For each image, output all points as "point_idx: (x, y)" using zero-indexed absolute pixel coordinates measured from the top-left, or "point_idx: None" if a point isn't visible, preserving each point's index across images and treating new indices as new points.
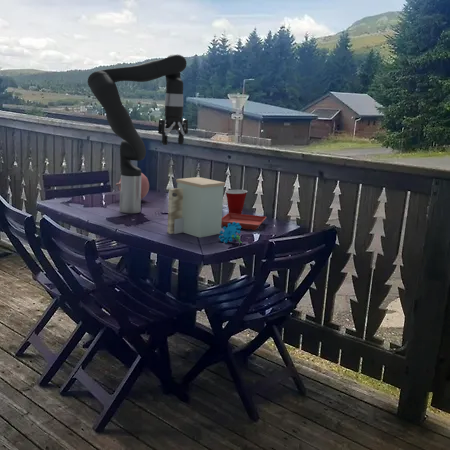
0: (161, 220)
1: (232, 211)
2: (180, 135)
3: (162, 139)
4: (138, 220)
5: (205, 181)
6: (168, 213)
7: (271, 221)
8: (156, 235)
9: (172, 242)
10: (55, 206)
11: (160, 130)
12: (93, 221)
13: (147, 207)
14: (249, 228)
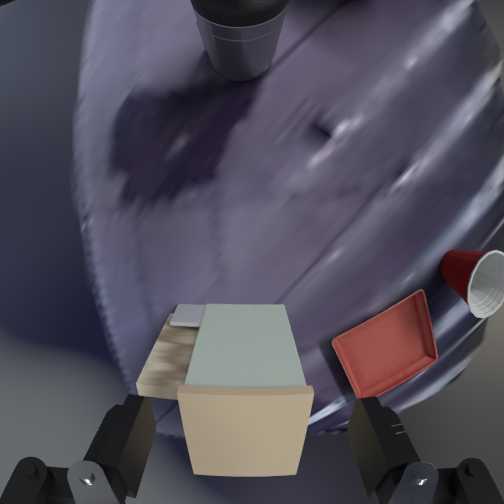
0: (246, 196)
1: (445, 274)
2: (376, 486)
3: (99, 435)
4: (185, 160)
5: (251, 453)
6: (157, 340)
7: (447, 347)
8: (135, 314)
9: (138, 367)
10: None
11: (34, 498)
12: (83, 116)
13: (326, 42)
14: (357, 381)
